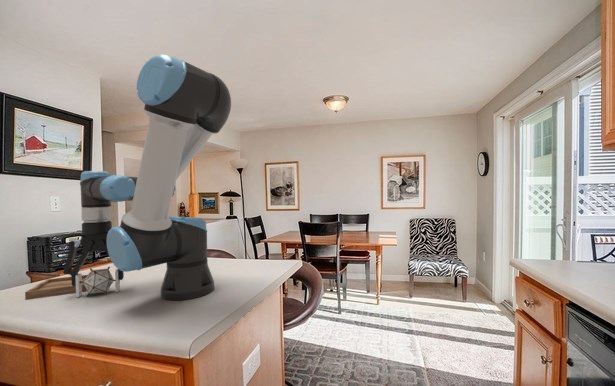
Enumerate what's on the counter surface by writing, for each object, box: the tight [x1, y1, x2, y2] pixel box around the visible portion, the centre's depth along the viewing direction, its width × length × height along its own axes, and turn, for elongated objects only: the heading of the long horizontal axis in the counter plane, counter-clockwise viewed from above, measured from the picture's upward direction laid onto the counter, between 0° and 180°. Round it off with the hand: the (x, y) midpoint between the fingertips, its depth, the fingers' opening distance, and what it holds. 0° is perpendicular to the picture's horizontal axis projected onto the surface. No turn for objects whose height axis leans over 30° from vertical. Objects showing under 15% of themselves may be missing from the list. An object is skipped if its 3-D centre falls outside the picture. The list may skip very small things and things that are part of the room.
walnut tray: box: [24, 274, 88, 300], centre depth 96 cm, size 15×15×2 cm
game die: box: [80, 266, 115, 297], centre depth 89 cm, size 9×8×10 cm
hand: (99, 293), depth 89 cm, fingers open, 9 cm apart
